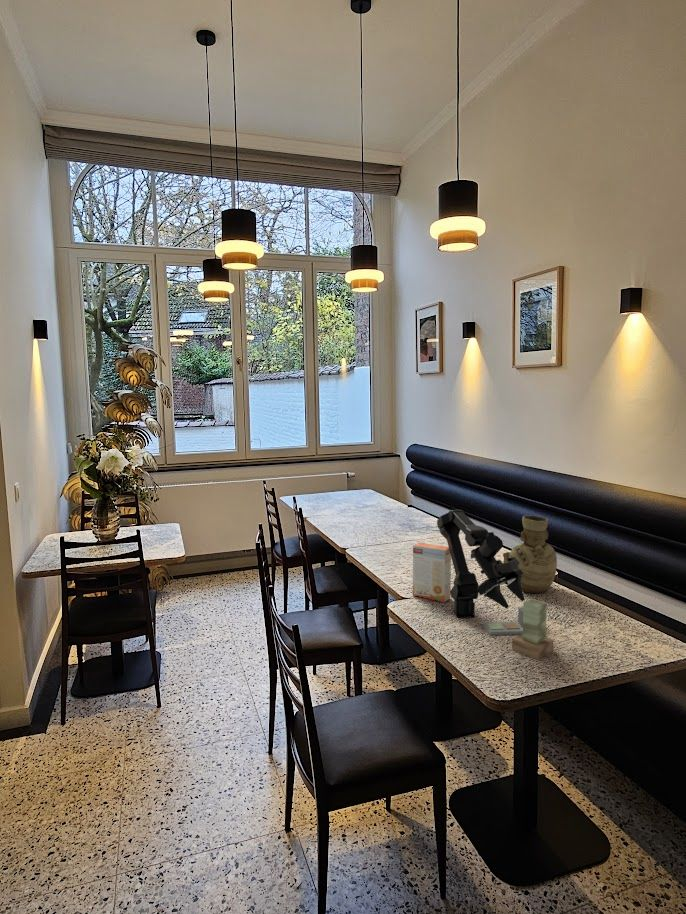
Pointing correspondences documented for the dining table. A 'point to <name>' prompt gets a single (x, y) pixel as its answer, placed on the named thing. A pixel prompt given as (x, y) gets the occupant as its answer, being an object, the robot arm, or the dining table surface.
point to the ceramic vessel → (534, 556)
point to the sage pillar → (534, 621)
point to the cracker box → (431, 571)
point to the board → (502, 628)
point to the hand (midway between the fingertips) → (515, 604)
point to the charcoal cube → (520, 616)
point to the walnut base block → (532, 647)
